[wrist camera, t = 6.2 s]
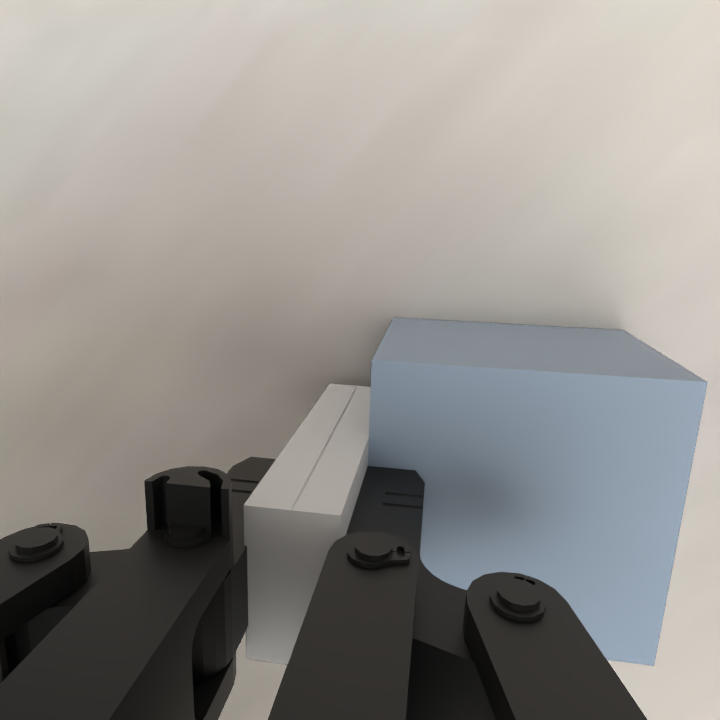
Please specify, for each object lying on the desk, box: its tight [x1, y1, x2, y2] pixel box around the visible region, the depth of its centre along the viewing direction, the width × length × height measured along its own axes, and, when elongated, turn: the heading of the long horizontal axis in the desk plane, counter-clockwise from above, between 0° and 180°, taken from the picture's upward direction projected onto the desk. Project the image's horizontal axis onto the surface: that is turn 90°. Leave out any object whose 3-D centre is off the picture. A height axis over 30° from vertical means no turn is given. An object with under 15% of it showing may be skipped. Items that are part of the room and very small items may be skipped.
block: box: [368, 317, 707, 666], centre depth 14 cm, size 6×6×5 cm
